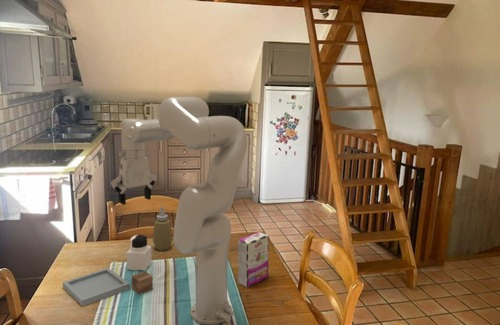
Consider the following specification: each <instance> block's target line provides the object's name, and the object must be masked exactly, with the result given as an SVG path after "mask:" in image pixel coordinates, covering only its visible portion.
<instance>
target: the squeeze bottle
mask: <svg viewBox="0 0 500 325" xmlns="http://www.w3.org/2000/svg"><path fill="white" fill-rule="evenodd" d="M155 217H156V220H154V223H153V232H152V233H153V234H152V242H153V245H154V247H155V250H157V251H167V250H169V249H170V248H171V245H172V242H173V233H172V226H171V220H170V219H169V215H168V214H166V212H165V208H164V206H160V208H159V214H157V215H156V216H155Z"/></svg>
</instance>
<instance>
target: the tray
mask: <svg viewBox="0 0 500 325" xmlns="http://www.w3.org/2000/svg"><path fill="white" fill-rule="evenodd" d="M130 286H131V283H130V282H128V281H127V280H126V279H124V278H123V277H122V276H120V275H118V273H117V272H114V271H113V270H112V269H110V268H109V267H107V268H103V269H100V270H97V271H94V272H91V273H90V272H89V273H87V274H84V275H81V276H77V277H75V278H71V279H68V280H65V281H62V288H63V289H64V290H65V291H66V292H67V293H68V294H69V295H70V296H71V297H72V298H73V299H74V300H75V301H76V302H77V303H78V304H79V305H80V307H84V306H87V305H90V304H94V303H96V302H99V301H101V300H103V299H107V298H110V297H112V296H115V295H118V294H120V293H123V292H125V291H127V290H130V289H131V287H130Z"/></svg>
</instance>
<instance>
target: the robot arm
mask: <svg viewBox="0 0 500 325" xmlns="http://www.w3.org/2000/svg"><path fill="white" fill-rule="evenodd" d="M209 114H210V109H209V105H208V104H207V102H206V101H205V100H203V99H202V98H200V97H196V96H171V97H167V98H165V99H164V100H162V102H161V103H160V104H159V106H158V117H157V118H153V119H141V118H124V119H122V120H121V122H120V124H121V126H120V127H121V128H120V129H121V147H122V148H121V149H122V150H121V151H119V152H118V156H119V157H122V158H121V159H120V163H119V171H118V173H119V174H118V176H117V177H116V178H115V179H113V180H112V181H110V185H111V186H112V189H113V190H115V191H116V193H118V202H119V204H120V205H123V206H125V205H126V202H127V200H126V198H127V197H126V193H125V192H126V190H127V189H133V188H138V187H144V188H143V190H144V191H143V192H144V195H143V196H144V198H145V199H146V200H151V196H152V189H153V187H154V185H155V184H156V181H157V177H158V176H157V174H154V173H151V170H150V164H149V159H148V157H147V156H146V154H145V152H146V150H145V148H146V147H145V146H146V145H145V143H152V142H161V141H166V140H170V139H173V138H176V139H177V140H178V141H179V142H181V144H183V145H184V146H185V147H187V148H188V149H191V150H194V151H201V150H207V149H216V148H218V150H217V152H215V155H214V156H213V158H212V159H211V161H210V163H209V167H208V170H207V176H206V179H205V180H204V181H203V182H201V183H197V184H192V185H190V186H187V187H186V188H185V189H184V190H183V191H182V192H181V194H180V196H179V200H178V203H177V208H176V216H175V221H174V226H173V233H172V238H173V242H174V247H175V248H176V250H177V251H178V252H179V253H180V254H182V255H187V256H188V255H190V256H191V255H194V254H195V266H194V267H195V272H194V273H195V278H194V279H195V303H194V304H192V306H191V308H190V317H191V318H192V319H193V320H194V321H195V322H196V323H199V324H203V325H217V324H221V323H224V322H226V323H229V322H231V320H232V316H234V314H235V312H234V311H233V307H232V305H231V304H230V302H229V301H228V265H229V264H228V262H229V261H228V260H229V259H228V258H229V246H230V240H231V235H232V224H231V221H230V218H229V217H228V216H227V215H226V214H224V213H226V212H227V211H229V210H230V209H231V207H232V206H233V202H234V199H235V194H236V191H237V190H236V189H237V186H238V181H239V176H240V171H241V168H242V165H243V162H244V159H245V157H246V152H247V148H248V135H247V131H246V129H245V127H244V125H243V123H242V122H240V121H239V119H237V118H235V117H232V116H230V115H229V116H228V115H212V116H209ZM118 183H119V186H118Z"/></svg>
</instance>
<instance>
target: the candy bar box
mask: <svg viewBox="0 0 500 325" xmlns="http://www.w3.org/2000/svg"><path fill="white" fill-rule="evenodd" d="M269 236H270V234H267V233H264V232H262V231H257V232H256V233H253V234H251V235H248V236H245V237H243V238H240V239H238V240H237V246H238V247H237V258H238V260H237V262H238V263H237V264H238V265H237V266H238V268H237V269H238V270H237V272H238V274H237V275H238V276H237V278H238V279H237V280H238V282H237V283H238V284H239V285H241V286H243V287H245V288H250V287H251V286H254V285H256V284H258V283H260V282H261V281H263V280H266V279H268V278H269V245H270V243H269V240H270V239H269Z"/></svg>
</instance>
